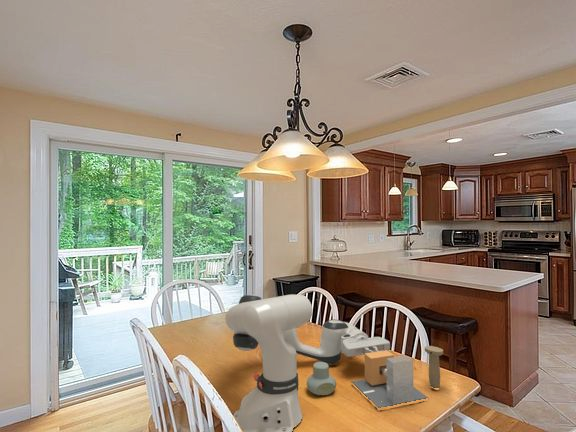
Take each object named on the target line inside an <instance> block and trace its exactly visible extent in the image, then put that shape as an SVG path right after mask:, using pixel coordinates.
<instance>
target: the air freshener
mask: <svg viewBox="0 0 576 432" xmlns="http://www.w3.org/2000/svg"><path fill="white" fill-rule="evenodd" d="M329 365H330V364H327V363H325V362H322V361H316V362H315V363H313V365H312V368H313V369H312V370H313V371H312V374H310V376H309V377H308V378H307V379H306V380H307V381H306V387H307V389H308V390H309V392H311V393H312V394H314V395H316V396H320V395H326V396H327V395H330V394H332V393H333V392H334V391H335V389H336V386H337V381H336V379H335V378H334V377H333V376H332V375H331V374H330V366H329Z"/></svg>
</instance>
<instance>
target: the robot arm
mask: <svg viewBox="0 0 576 432" xmlns="http://www.w3.org/2000/svg"><path fill="white" fill-rule="evenodd" d="M312 315H313V306H312V304H311V301H310V299H308V297H307V296H305V295H304V294H292V293H291V294H286V295H281V296H280V295H279V296H275V297H274V296H273V297H269V298H262V297H260V296H259V295H256V294H245V295H242V296H241V297H240V299H239V302H238V303H237V304H235V305H233V306H231V308H229V309H228V310H227V312H226V314H225V324H226V326H227V327H228V328H229V329H230V330H231V331H233V336H232V341H233V345H234V347H235V348H237V349H238V350H240V351H244V352H247V351H248V352H250V351H252V350H255V349H256V348H257V347H258V346H259V347H260V351H261V356H262V358H261V359H262V373H261V374H259V373H258V372H255V373H253V376H252V377H253V380H254V381H255V382H256V386H255V387H254V388H253V389H252V390H250V391H249V392H248V393H247V394H246V395H245V396H243V398H241V399H242V400H241V402H240V406H239V409H238V410H235V412H234V414H233V415H232V417H233V416H234V418H235V419H236V421H237V422H238V424H239V425H240V427H241V429H242V430H243V432H292V431H293V428H294V426H295V425H297V424H298V423H299V422H300V421H301V419H302V420H303V418H302V417H303V413H302V410H301V405H300V401H299V392H298V391H299V386H300V385H299V383H300V382H299V379H300V378H299V373H298V372H297V370H298V369H297V365H298V364H297V360H298V359H297V354H298V355H301V356H304V357H308V358H310V359H314V360H317V361H319V362H325V363H327V364H328V365H335V364H337V363H339V361H340V360H341V359H342V354H343V355H344V356H345V357H348V358H351V357H357V356H364V354H365V353H372V352H378V351H385V350H387V351H389V352H390V350H391V342H390V341H389V340H388V339H386V338H383V337H381V336H373V337H369V335H368V334H367V333H365V332H364V331H362V330H361V329H359V328H357V327H356V326H355V325H354V324H351V323H349V322H346V321H343V320H340V319H329V320H327V321H325V322H324V323H323V324H322V328H321V334H320V343H319V347H314V346H311V345H308V344H305V343H302V342H301V341H299V338H298V333H297V328H299V327H301V326H303V325H305V324H307V323H308V322H309V321H310V320H311V319H312ZM301 422H302V421H301ZM293 432H294V431H293Z"/></svg>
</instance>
